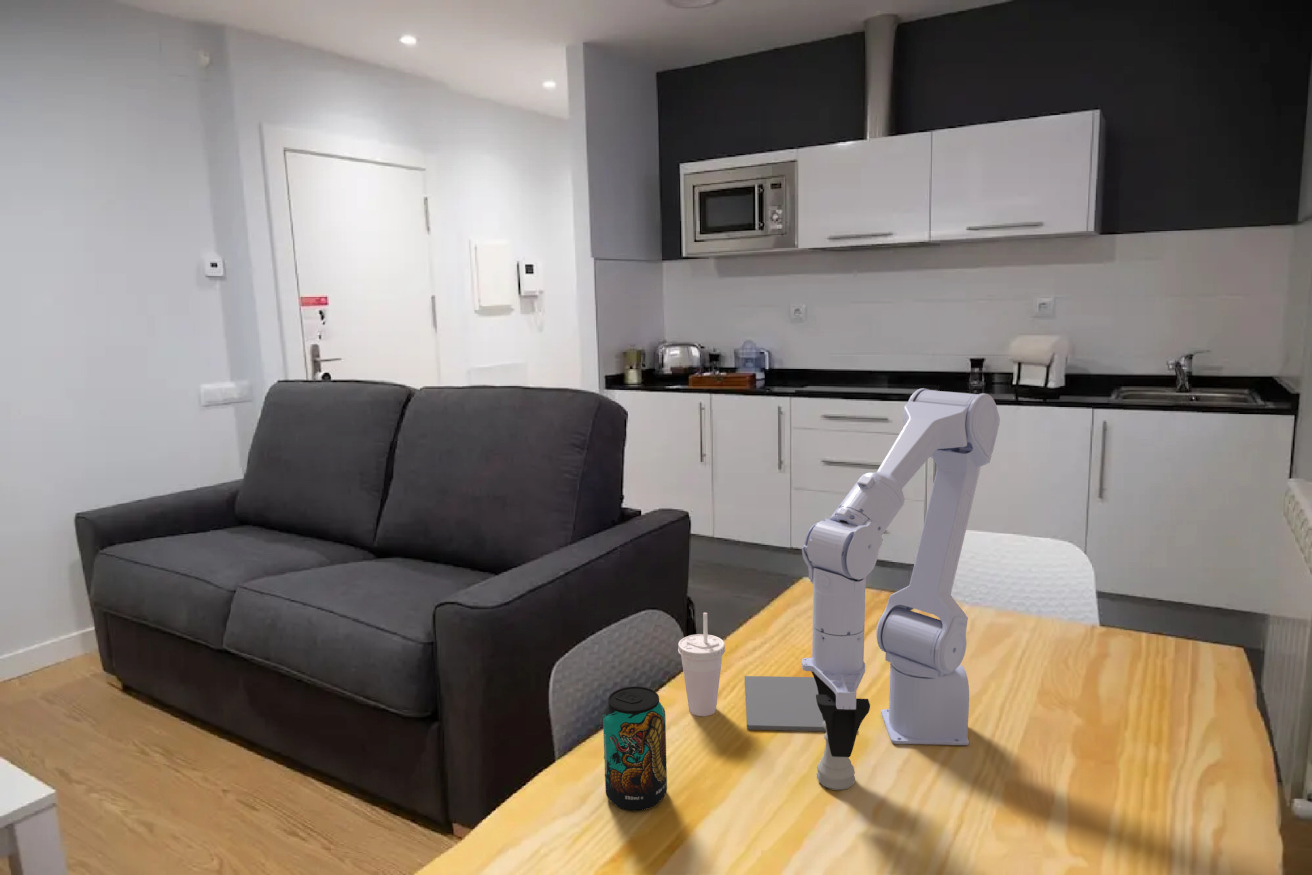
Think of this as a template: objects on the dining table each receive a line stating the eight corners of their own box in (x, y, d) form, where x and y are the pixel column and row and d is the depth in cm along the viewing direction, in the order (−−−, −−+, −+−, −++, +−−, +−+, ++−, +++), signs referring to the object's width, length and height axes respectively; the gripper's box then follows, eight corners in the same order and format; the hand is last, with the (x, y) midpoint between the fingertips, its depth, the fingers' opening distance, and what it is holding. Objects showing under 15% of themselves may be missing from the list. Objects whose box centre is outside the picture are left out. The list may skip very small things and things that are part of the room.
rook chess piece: (811, 771, 99) (812, 709, 97) (848, 768, 99) (849, 706, 98) (822, 793, 94) (823, 728, 93) (860, 790, 95) (862, 726, 93)
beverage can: (645, 822, 90) (642, 720, 88) (593, 802, 94) (589, 704, 91) (678, 788, 96) (676, 692, 94) (628, 771, 99) (625, 678, 97)
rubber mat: (841, 681, 121) (841, 677, 121) (855, 731, 107) (855, 727, 107) (744, 679, 122) (744, 675, 122) (747, 729, 108) (747, 725, 108)
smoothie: (722, 723, 110) (721, 623, 108) (675, 719, 111) (673, 620, 109) (728, 699, 116) (727, 605, 114) (683, 696, 117) (681, 602, 115)
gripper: (797, 601, 101) (795, 705, 103) (808, 652, 86) (807, 771, 89) (855, 602, 100) (853, 706, 102) (877, 653, 86) (874, 773, 88)
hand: (836, 736), depth 96 cm, fingers open, 7 cm apart
